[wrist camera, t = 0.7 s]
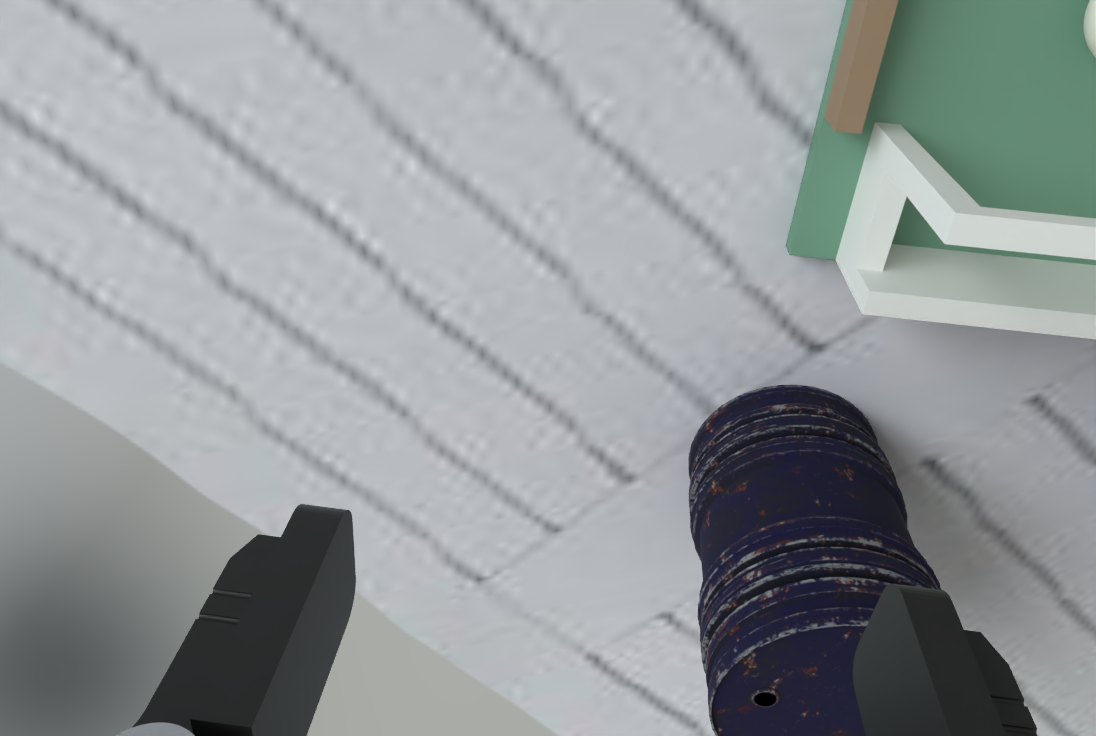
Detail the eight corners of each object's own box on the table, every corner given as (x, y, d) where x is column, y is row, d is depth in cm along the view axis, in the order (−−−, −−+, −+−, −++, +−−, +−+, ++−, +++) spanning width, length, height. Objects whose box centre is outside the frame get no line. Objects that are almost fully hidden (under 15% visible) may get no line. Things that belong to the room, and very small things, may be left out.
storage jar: (911, 403, 41) (1035, 651, 28) (842, 545, 46) (920, 809, 33) (712, 366, 40) (747, 599, 28) (666, 513, 46) (677, 765, 33)
